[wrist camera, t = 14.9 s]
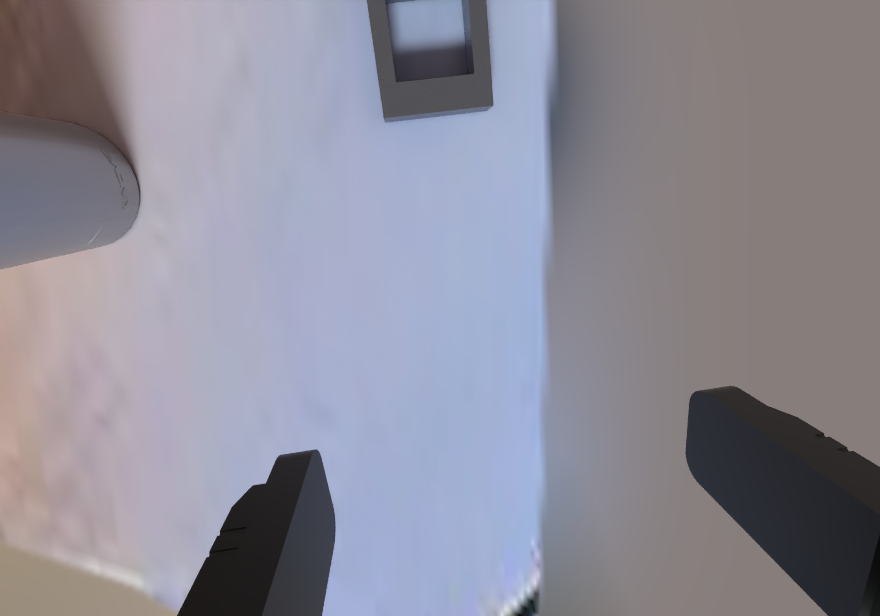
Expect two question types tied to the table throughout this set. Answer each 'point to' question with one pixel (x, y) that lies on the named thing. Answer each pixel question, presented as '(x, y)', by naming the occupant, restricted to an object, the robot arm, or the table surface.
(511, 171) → the table surface
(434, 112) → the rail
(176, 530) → the table surface
